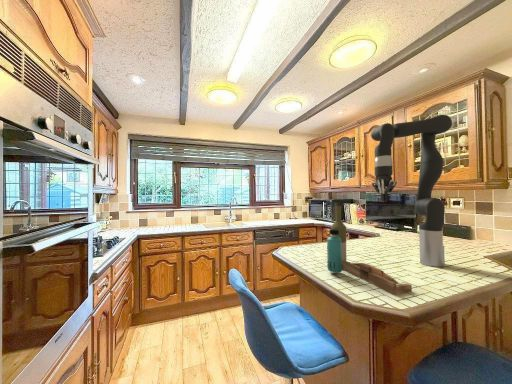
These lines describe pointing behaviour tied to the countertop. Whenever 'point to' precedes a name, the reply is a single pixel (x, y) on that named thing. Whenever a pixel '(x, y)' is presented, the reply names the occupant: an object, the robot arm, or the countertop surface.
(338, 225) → the bottle
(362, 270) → the display cradle
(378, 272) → the sunglasses case
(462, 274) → the countertop surface
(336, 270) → the beverage bottle
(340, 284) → the countertop surface
